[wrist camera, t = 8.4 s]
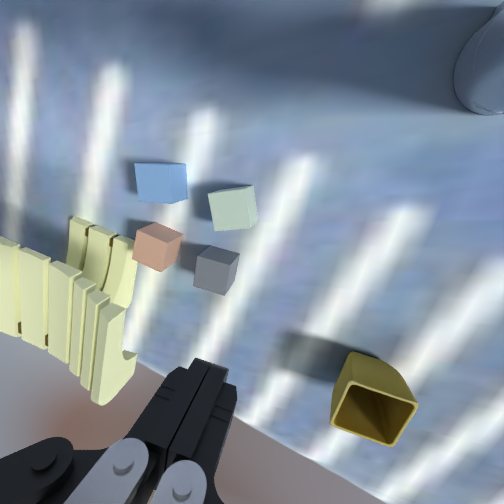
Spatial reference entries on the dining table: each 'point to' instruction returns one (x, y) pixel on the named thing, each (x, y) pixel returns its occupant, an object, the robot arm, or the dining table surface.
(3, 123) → the dining table surface
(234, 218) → the sage block
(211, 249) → the charcoal block
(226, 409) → the robot arm
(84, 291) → the slatted curved stool
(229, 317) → the dining table surface
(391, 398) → the flower pot
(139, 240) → the terracotta block
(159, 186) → the blue block
